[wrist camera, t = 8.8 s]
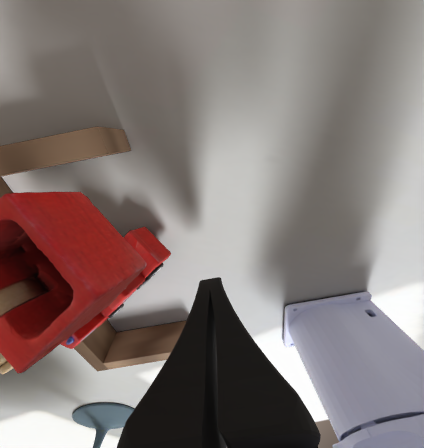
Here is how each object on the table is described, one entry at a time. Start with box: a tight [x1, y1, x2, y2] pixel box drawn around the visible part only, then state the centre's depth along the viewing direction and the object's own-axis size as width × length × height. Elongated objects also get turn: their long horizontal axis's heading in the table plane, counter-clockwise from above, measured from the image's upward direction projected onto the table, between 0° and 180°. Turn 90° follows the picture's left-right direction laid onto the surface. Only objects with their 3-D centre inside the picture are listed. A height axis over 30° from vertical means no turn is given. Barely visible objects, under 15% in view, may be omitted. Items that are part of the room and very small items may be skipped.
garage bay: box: [0, 126, 186, 371], centre depth 14 cm, size 10×20×3 cm, turn 10°
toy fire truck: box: [0, 192, 171, 374], centre depth 10 cm, size 3×14×10 cm, turn 137°
